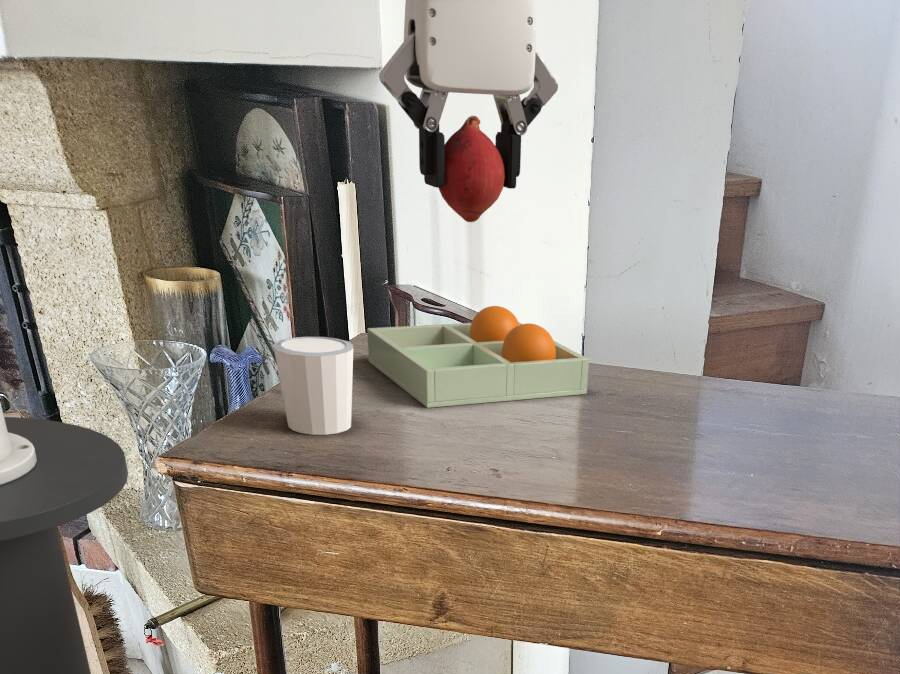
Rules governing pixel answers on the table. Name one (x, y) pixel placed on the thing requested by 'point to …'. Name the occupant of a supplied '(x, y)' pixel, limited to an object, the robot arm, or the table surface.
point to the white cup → (316, 383)
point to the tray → (469, 367)
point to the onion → (472, 171)
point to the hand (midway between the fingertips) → (470, 183)
